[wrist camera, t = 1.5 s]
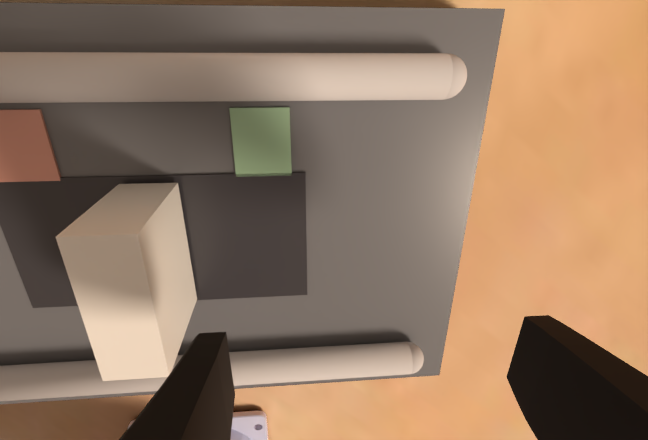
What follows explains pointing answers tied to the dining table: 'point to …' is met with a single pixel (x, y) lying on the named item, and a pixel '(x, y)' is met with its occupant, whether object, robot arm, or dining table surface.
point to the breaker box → (252, 180)
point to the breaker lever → (132, 278)
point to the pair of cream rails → (224, 85)
